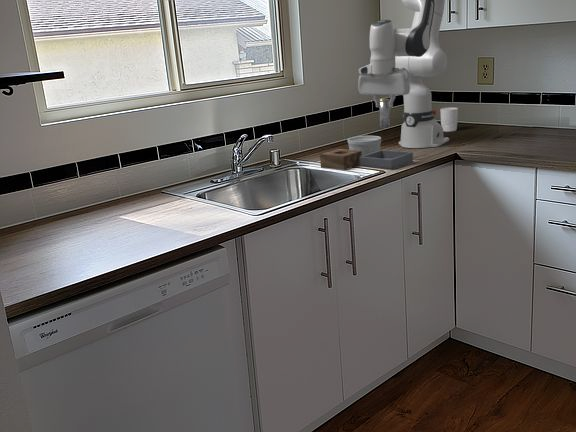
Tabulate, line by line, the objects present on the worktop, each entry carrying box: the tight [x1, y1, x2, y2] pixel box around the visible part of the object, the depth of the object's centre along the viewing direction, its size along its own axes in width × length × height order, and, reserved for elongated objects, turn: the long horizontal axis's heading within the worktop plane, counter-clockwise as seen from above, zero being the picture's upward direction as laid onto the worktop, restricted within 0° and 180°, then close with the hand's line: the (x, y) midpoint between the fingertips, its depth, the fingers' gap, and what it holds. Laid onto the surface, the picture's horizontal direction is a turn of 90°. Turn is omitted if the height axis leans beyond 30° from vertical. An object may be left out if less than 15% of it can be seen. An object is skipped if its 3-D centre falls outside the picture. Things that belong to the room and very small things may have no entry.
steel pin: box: [378, 98, 391, 129], centre depth 229 cm, size 3×3×10 cm
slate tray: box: [359, 149, 414, 170], centre depth 233 cm, size 14×14×4 cm
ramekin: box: [347, 135, 382, 156], centre depth 251 cm, size 13×13×7 cm
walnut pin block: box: [319, 148, 362, 171], centre depth 236 cm, size 11×11×5 cm
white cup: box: [439, 107, 459, 133], centre depth 291 cm, size 8×8×10 cm
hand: (384, 107), depth 228 cm, fingers closed on steel pin, 3 cm apart
